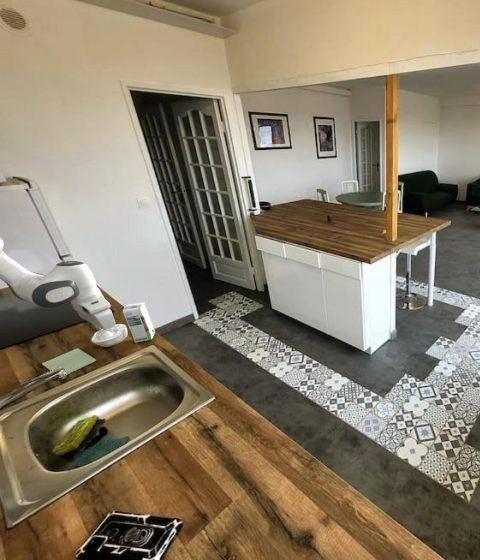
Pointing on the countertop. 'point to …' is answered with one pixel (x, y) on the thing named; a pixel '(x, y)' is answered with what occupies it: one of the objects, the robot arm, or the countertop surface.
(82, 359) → the dish cloth
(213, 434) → the countertop surface
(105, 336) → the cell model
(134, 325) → the syrup box
